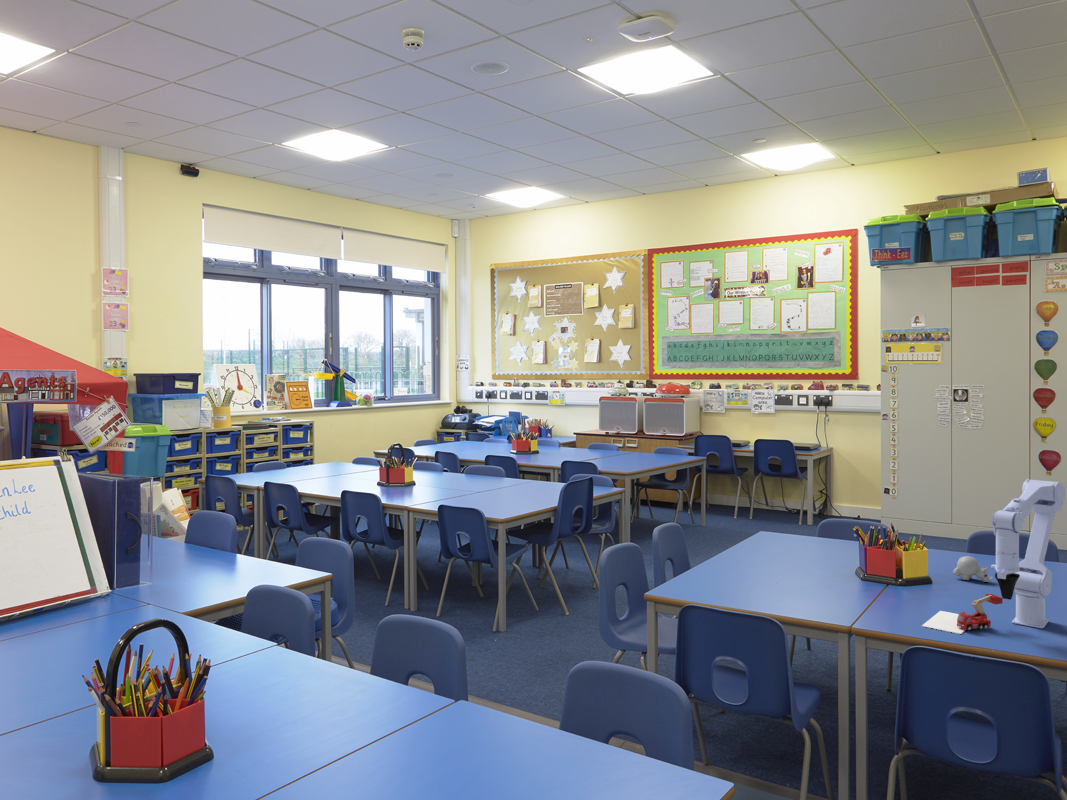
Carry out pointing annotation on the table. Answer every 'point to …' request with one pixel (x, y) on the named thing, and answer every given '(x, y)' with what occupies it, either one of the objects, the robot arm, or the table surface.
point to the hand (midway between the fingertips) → (1007, 598)
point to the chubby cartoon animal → (971, 569)
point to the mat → (944, 622)
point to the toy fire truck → (977, 614)
